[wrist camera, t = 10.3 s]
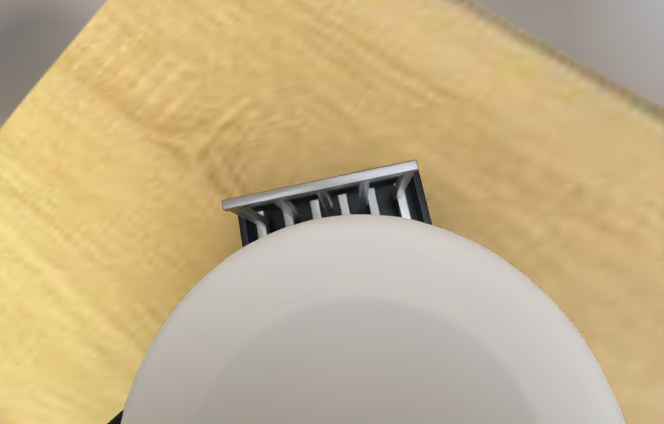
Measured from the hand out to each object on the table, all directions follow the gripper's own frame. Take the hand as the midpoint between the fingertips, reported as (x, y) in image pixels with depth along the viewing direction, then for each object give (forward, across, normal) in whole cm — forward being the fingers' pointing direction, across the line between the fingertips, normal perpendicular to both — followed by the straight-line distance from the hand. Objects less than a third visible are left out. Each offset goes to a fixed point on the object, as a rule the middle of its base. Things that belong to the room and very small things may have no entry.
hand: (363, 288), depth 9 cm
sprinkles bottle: (+4, 0, +6) cm, 7 cm away
